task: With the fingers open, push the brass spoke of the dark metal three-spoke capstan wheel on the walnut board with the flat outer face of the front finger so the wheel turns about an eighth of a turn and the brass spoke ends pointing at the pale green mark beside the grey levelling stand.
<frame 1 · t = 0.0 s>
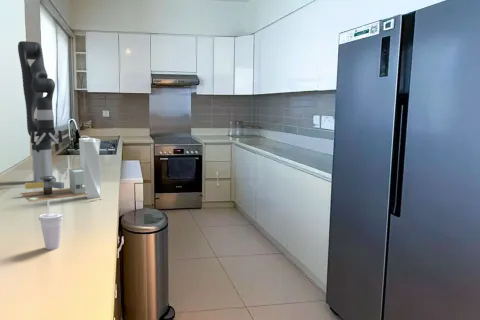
hand: (47, 151, 218), 17 cm above the counter, tool pointing down, fingers open, 8 cm apart
green mark: (33, 199, 185), resting on walnut board
skyscraper: (93, 199, 191), on the counter
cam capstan: (43, 185, 194), point 5 cm above the counter, hinge at 0.0°
walnut board: (54, 196, 196), on the counter
smoothie: (52, 248, 128), on the counter
cylindrical container: (89, 191, 207), on the counter
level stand: (77, 191, 201), resting on walnut board
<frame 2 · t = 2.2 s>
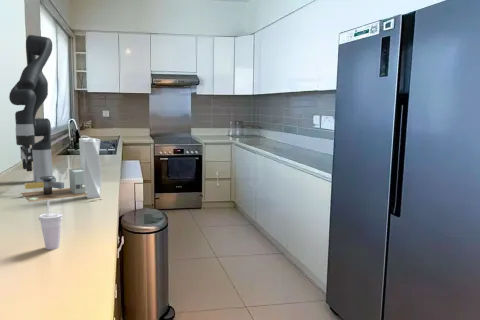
hand: (27, 170, 198), 11 cm above the counter, tool pointing down, fingers open, 8 cm apart
nothing on the counter moved.
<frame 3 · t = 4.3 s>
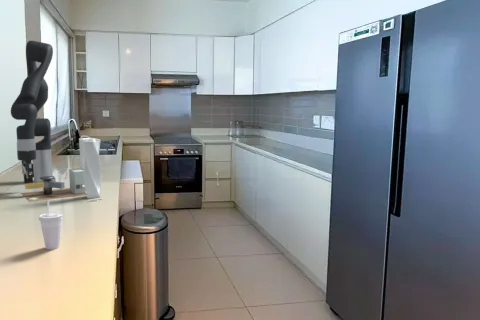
hand: (28, 185, 196), 5 cm above the counter, tool pointing down, fingers open, 8 cm apart
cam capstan: (43, 185, 194), point 5 cm above the counter, hinge at 1.7°, touching gripper
everything else where it was.
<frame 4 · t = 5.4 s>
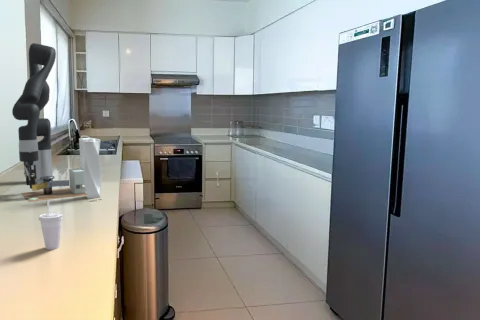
hand: (30, 186, 192), 5 cm above the counter, tool pointing down, fingers open, 8 cm apart
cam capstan: (44, 186, 193), point 5 cm above the counter, hinge at 42.4°, touching gripper
everything else where it was.
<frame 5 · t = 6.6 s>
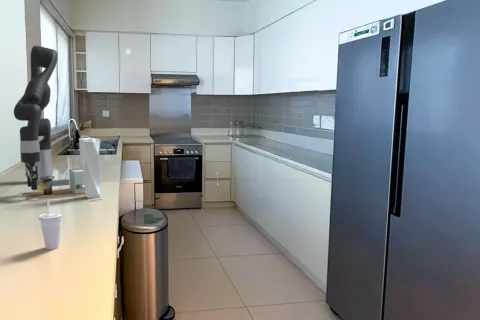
hand: (32, 188, 190), 5 cm above the counter, tool pointing down, fingers open, 8 cm apart
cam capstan: (45, 186, 193), point 5 cm above the counter, hinge at 57.7°, touching gripper
everything else where it was.
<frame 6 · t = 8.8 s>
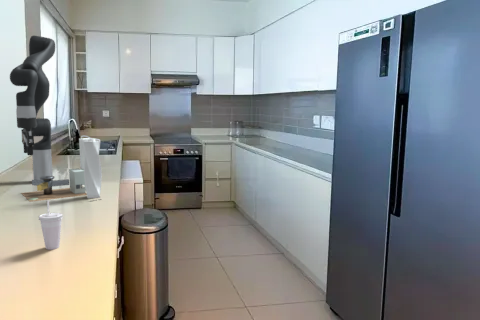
hand: (28, 154, 190), 19 cm above the counter, tool pointing down, fingers open, 8 cm apart
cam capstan: (45, 186, 193), point 5 cm above the counter, hinge at 57.8°
everything else where it was.
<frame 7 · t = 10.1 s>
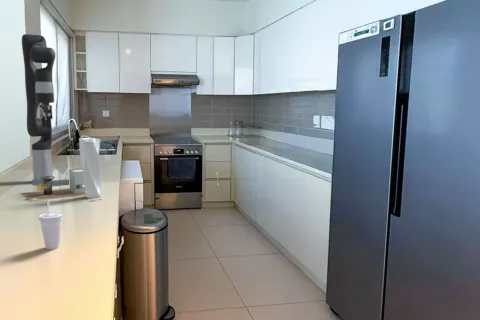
hand: (46, 127, 201), 30 cm above the counter, tool pointing down, fingers open, 8 cm apart
nothing on the counter moved.
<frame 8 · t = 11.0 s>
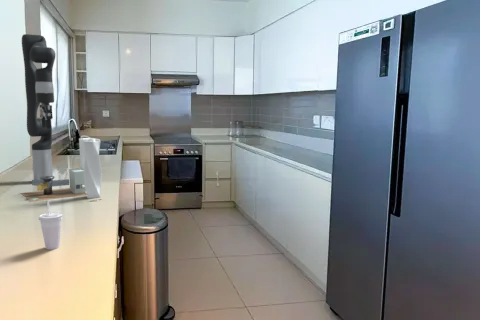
hand: (46, 127, 201), 30 cm above the counter, tool pointing down, fingers open, 8 cm apart
nothing on the counter moved.
at the end: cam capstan at +58° (first picture: +0°) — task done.
